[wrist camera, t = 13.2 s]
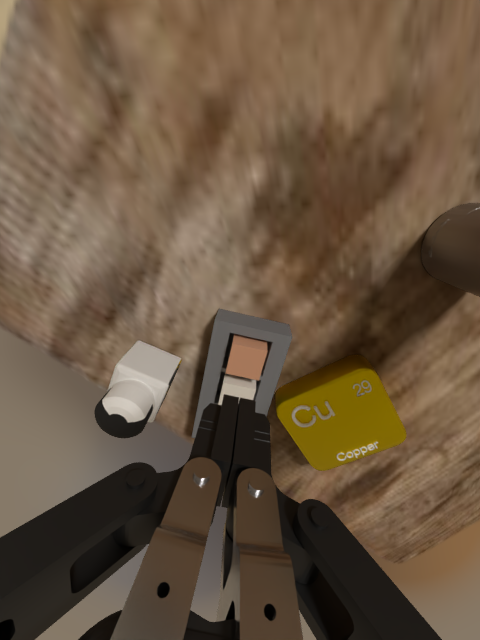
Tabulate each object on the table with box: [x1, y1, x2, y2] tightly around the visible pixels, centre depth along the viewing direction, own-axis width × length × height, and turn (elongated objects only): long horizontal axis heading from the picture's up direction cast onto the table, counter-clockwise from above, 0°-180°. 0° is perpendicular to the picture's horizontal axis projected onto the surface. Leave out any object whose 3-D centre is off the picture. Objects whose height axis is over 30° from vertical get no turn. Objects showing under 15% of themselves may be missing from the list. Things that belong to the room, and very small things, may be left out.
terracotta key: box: [226, 334, 267, 381], centre depth 37 cm, size 4×4×4 cm
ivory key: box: [218, 373, 256, 405], centre depth 39 cm, size 4×4×4 cm
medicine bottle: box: [95, 340, 182, 438], centre depth 38 cm, size 7×7×12 cm
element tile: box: [275, 355, 406, 471], centre depth 42 cm, size 15×15×5 cm
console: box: [192, 309, 292, 438], centre depth 41 cm, size 10×20×4 cm, turn 167°
